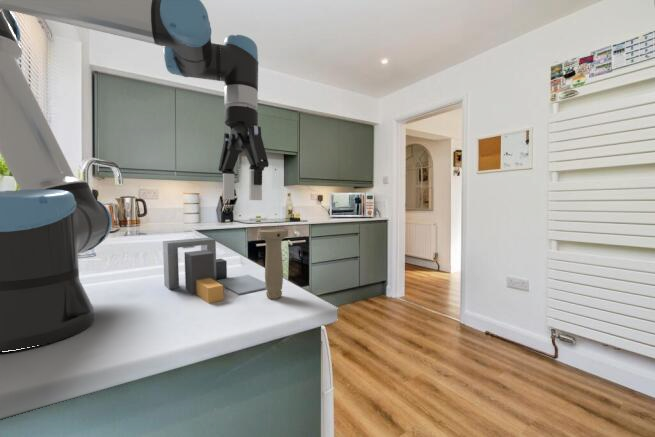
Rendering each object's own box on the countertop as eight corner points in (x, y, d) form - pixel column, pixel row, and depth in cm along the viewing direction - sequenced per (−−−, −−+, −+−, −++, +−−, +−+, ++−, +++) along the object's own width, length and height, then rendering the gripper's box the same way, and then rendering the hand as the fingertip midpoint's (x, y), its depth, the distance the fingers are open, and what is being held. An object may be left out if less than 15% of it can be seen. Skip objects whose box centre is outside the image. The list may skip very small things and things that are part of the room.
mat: (238, 295, 69) (238, 293, 68) (216, 281, 79) (216, 280, 79) (273, 287, 74) (273, 285, 74) (248, 276, 85) (248, 274, 85)
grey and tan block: (227, 299, 66) (226, 258, 65) (203, 304, 63) (202, 261, 62) (205, 284, 77) (204, 249, 76) (184, 287, 74) (183, 251, 73)
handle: (256, 297, 67) (255, 230, 66) (281, 291, 71) (281, 228, 70) (265, 303, 63) (264, 232, 62) (292, 297, 67) (291, 230, 66)
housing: (169, 289, 72) (167, 243, 72) (164, 285, 76) (162, 241, 75) (227, 279, 82) (226, 238, 81) (220, 275, 85) (219, 236, 85)
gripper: (285, 101, 64) (284, 200, 65) (232, 121, 82) (232, 199, 83) (253, 91, 59) (253, 200, 60) (204, 116, 77) (205, 198, 78)
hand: (241, 199), depth 72 cm, fingers open, 13 cm apart
